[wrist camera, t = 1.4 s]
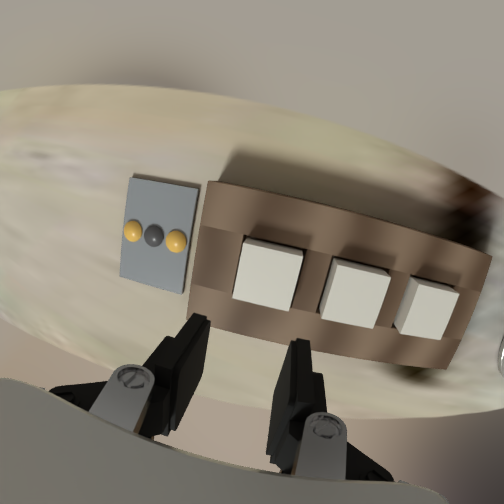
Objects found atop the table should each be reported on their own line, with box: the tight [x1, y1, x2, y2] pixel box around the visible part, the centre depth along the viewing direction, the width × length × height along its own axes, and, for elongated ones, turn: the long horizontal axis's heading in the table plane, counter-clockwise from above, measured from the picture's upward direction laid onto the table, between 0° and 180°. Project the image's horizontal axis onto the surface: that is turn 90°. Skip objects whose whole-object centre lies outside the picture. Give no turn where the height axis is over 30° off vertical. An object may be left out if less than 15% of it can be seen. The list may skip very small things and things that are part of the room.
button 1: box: [393, 276, 459, 340], centre depth 22 cm, size 4×4×2 cm
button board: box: [186, 181, 492, 369], centre depth 24 cm, size 26×12×3 cm, turn 79°
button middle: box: [319, 258, 391, 329], centre depth 22 cm, size 4×4×2 cm
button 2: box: [232, 238, 303, 312], centre depth 23 cm, size 4×4×2 cm
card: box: [120, 177, 199, 295], centre depth 27 cm, size 7×10×1 cm
